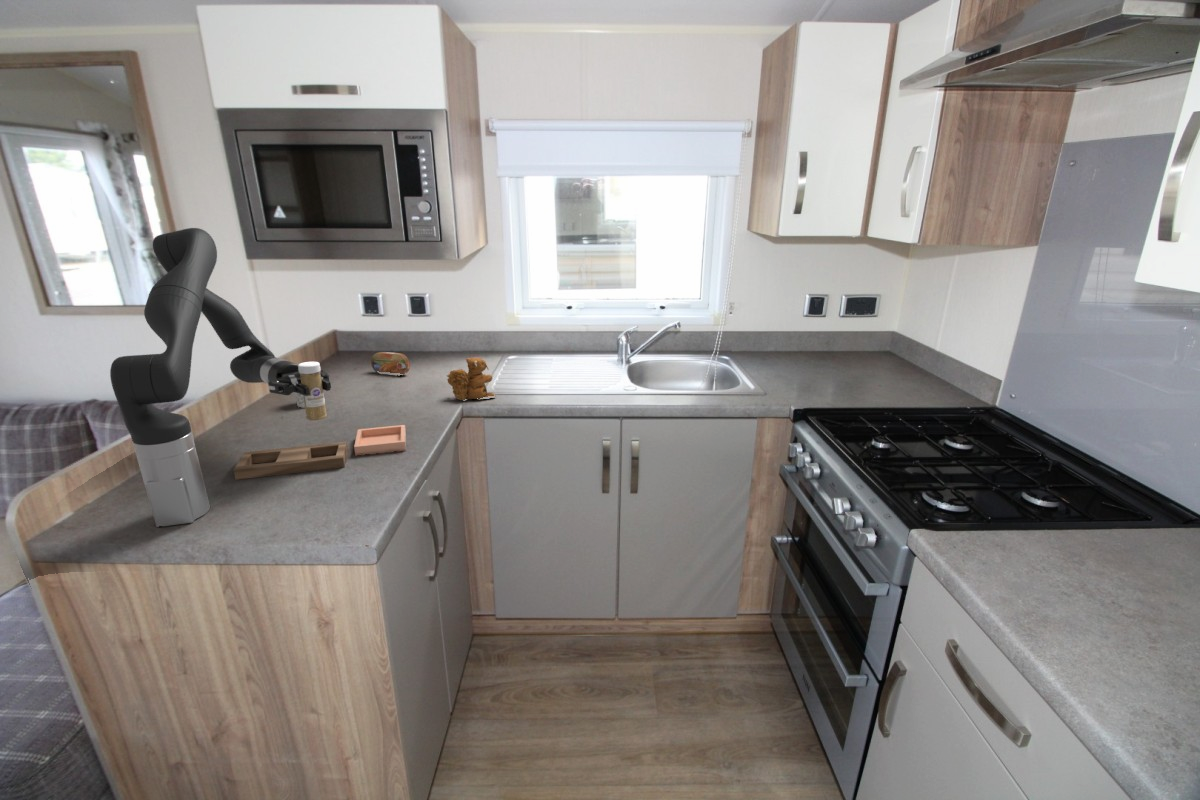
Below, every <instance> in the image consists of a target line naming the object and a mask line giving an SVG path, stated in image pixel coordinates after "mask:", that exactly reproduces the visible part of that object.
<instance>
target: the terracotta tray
mask: <svg viewBox="0 0 1200 800" xmlns="http://www.w3.org/2000/svg"><path fill="white" fill-rule="evenodd" d="M406 432H407V431H406V424H401V425H389V426H379V427H371V428H370V427H369V428H359V429H357V432H356V437H355V441H354V445H353V449H354V455H355V457H358V456H357V455H361V456H366V455H365V454H370V455H377V454H376V453H379V454H385V452H388V453H394V451H397V452H404V451H407V446H406V445H407V444H406V443H407V439H406V438H407V433H406Z"/></svg>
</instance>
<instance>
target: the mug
mask: <svg viewBox="0 0 1200 800" xmlns="http://www.w3.org/2000/svg"><path fill="white" fill-rule="evenodd" d="M294 395H295V400H296V404H297V405H296V406H298V407H297V408H299V407H301V408H300V409H306V408H305V405H304V399H303V395H301V394H294Z"/></svg>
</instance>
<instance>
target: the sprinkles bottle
mask: <svg viewBox="0 0 1200 800" xmlns="http://www.w3.org/2000/svg"><path fill="white" fill-rule="evenodd" d="M298 370H299V373H300V377H301V384H303V385H305V386H308V388H309V393H310V395H309V396H305V395H303V399H304V405H305V408H304V409H305V415H306V417H305V418H306V420H308V421H320V420H324V419H325V418H327V416H328V413H327V410H326V402H325V401H326V400H325V393H324V390H323V386H322V381H321V375H320V371H321V370H322V368H321V365H320V362H318V361H306V362H305V361H304V362H301V363H298Z"/></svg>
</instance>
